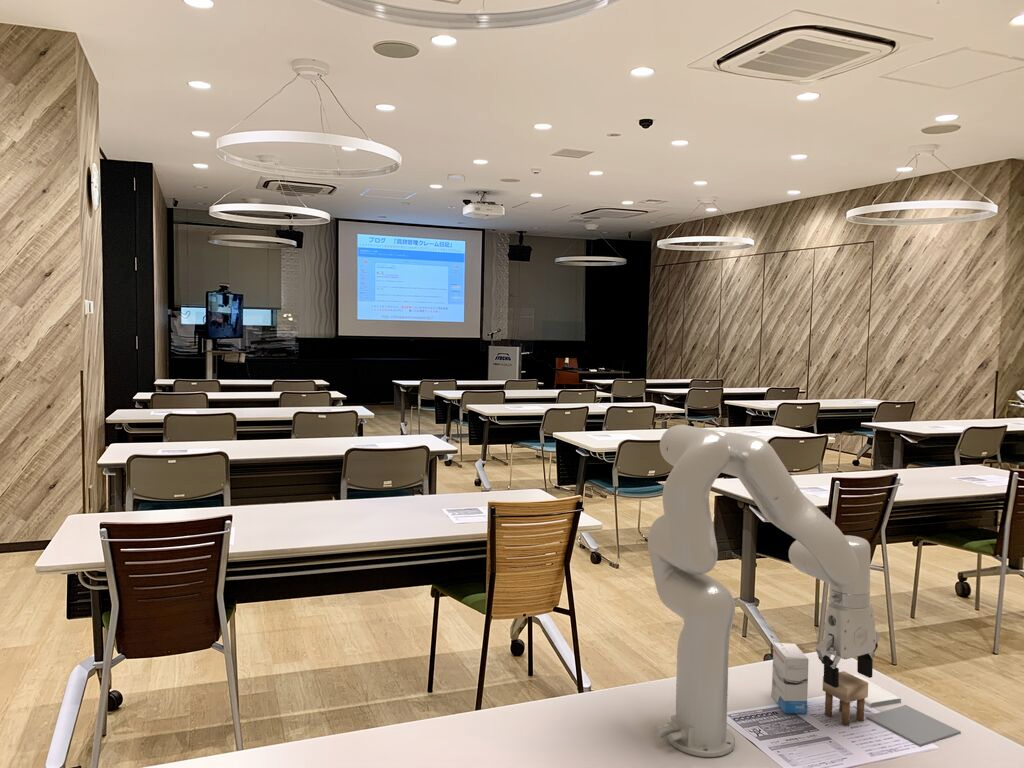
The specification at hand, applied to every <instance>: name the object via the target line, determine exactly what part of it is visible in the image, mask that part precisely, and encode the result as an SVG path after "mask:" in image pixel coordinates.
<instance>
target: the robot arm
mask: <svg viewBox="0 0 1024 768" xmlns="http://www.w3.org/2000/svg"><path fill="white" fill-rule="evenodd" d="M659 450H660V454H661V456H662V458H663V459H664V461H665V462H667V463H668V464H669V465H671V466H673V467H672V470H671V471H669V472H670V473H669V474H668V477H667V478H666V480H665V482H664V486H663V488H662V489H663V490H662V507H663V514H662V515H661V516H658V518H656V519H655V520H654V521H653V523H652V524H651V525H650V528H649V530H648V535H647V549H648V554H649V559H650V565H651V570H652V574H653V575H652V576H653V579H654V583H655V588H656V591H657V595H658V597H659V599H660V601H661V602H662V604H663V606H665V607H666V608H668V609H669V610H670V611H671V612H673V613H674V614H675V615H677V616H679V617H680V618H681V619H682V620H683V627H682V630H681V632H680V633H679V637H678V639H677V646H676V647H677V648H676V681H675V682H676V683H675V684H676V685H675V686H676V687H675V688H676V689H675V714H673V715H670V722H669V721H668V722H667V723H666V724H665V725H660V726H657V727H654V735H655V737H656V738H657V739H662V738H665V737H667V741H668V742H669V744H671V745H672V746H673V747H675V748H676V749H677V750H679V751H681V752H683V753H686V754H688V755H692V756H697V757H702V758H715V757H717V758H718V757H722V756H725V755H727V754H730V753H731V752H732V751H733V750H734V748H735V743H736V742H735V737H734V734H733V732H731V731H730V730H729V729H728V728H727V727H728V726H727V723H728V722H727V721H728V718H727V717H728V692H729V689H728V685H729V683H728V682H729V655H730V653H729V651H730V638H731V633H732V628H733V623H734V619H735V615H736V605H735V599H734V597H733V595H732V593H731V591H730V589H728V588H727V586H725V585H724V584H723V583H722V582H720V581H718V580H717V579H715V578H713V577H712V576H709V575H707V574H708V573H709V572H711V571H712V570H713V569H714V568H715V566H716V564H717V562H718V553H719V552H718V544H717V539H716V535H715V534H716V533H715V528H714V524H713V519H712V513H711V505H710V492H711V491H712V489H711V488H712V486H713V485H714V483H715V481H716V480H717V478H718V477H719V475H720V474H721V473H722V474H726V475H730V476H732V477H736V478H737V479H738V480H739V481H740V482H741V484H742V485H743V487H744V488H745V490H746V491H747V493H748V494H749V495H750V497H751V499H752V500H753V502H754V503H755V504H756V506H757V507H758V509H759V510H760V512H761V514H762V515H763V516H764V518H766V519H767V520H768V521H769V522H770V523H771V524H773V525H774V526H775V527H776V528H778V529H779V530H781V531H782V532H784V533H786V535H789V536H791V537H792V538H793V539H795V540H794V541H793V542H792V543H791V545H790V546H789V549H788V559H789V561H790V563H791V565H792V566H793V567H794V568H795V569H797V571H800V572H801V573H803V574H805V575H808V576H810V577H812V578H816V579H817V580H820V581H822V582H824V583H826V584H829V585H828V588H829V589H828V594H829V595H828V603H829V604H827V610H826V614H825V622H824V636H823V640H822V641H820V642H819V643H818V644H817V645H816V646H815V652H816V653H817V657H818V659H819V661H820V662H821V664H822V665H823V676H824V682H825V683H827V684H829V685H831V686H833V687H835V688H837V687H838V686H839V672H840V668H839V667H838V665H839V663H840V661H841V659H842V660H843V659H844V660H850V659H853V658H857V664H856V666H857V667H856V669H857V670H856V671H857V673H858V674H859V675H862V676H865V677H866V678H869V679H871V678H873V671H874V670H873V667H874V666H873V664H874V662H873V661H874V658H875V656H876V653H875V652H876V650H877V649H878V646H879V644H878V643H879V641H880V638H881V633H879V631H878V632H877V631H876V623H875V614H874V609H873V605H872V604H871V603H870V602H871V600H870V599H871V597H870V595H871V544H870V543H869V541H868V540H867V539H866V538H863V537H860V536H856V535H848V534H847V535H845V534H843V532H842V530H841V529H840V528H839V527H838V526H837V525H836V524H835V523H834V521H832V520H831V518H829V517H828V516H827V515H826V514H825V513H824V512H823V511H822V510H821V509H819V508H818V507H817V506H816V505H815V504H814V502H812V501H811V500H810V499H809V498H808V497H807V496H806V495H804V493H803V492H802V491H801V489H800V488H799V486H798V485H797V483H796V482H795V480H794V479H793V477H792V475H791V474H790V473H789V471H788V470H787V467H786V466H785V464H784V463H783V462H782V460H781V459H780V457H779V456H778V454H777V452H776V451H775V449H774V448H773V447H772V445H771V444H770V443H769V442H767V441H766V440H764V439H763V438H760V437H757V436H754V435H753V436H752V435H747V434H742V433H741V434H740V433H736V432H731V431H730V432H729V431H723V430H722V431H720V430H714V429H708V428H702V427H698V426H691V425H686V424H677V425H673V426H671V427H669V428H668V429H667V430H665V432H664V433H663V434H662V436H661V438H660V441H659ZM832 656H833V659H831V657H832Z"/></svg>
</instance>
